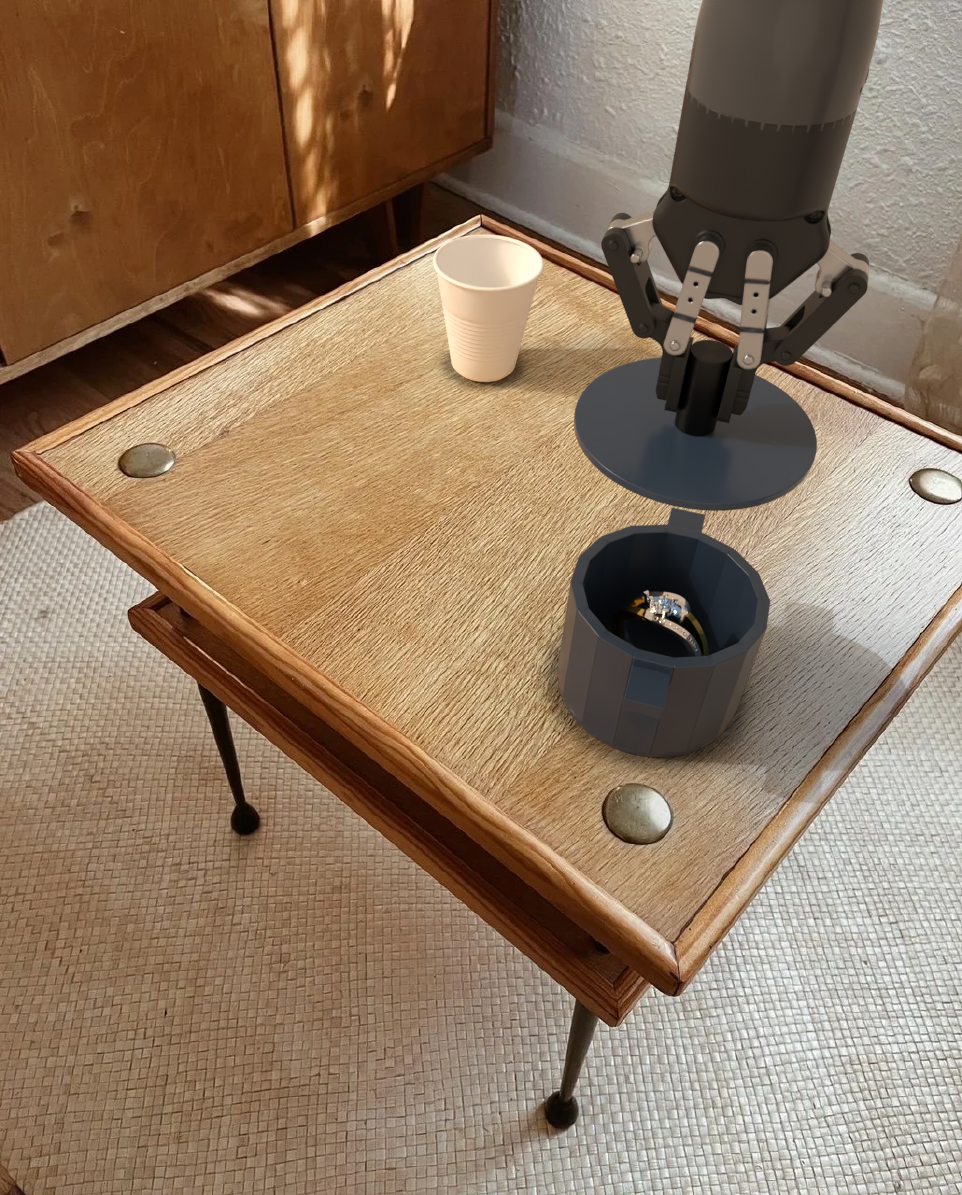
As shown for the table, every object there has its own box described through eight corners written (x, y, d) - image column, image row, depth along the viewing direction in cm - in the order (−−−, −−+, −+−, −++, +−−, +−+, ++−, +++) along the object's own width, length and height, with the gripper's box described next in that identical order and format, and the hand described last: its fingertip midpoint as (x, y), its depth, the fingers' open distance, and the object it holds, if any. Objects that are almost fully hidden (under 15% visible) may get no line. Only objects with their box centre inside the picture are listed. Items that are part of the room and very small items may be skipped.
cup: (551, 385, 97) (562, 279, 89) (453, 404, 95) (456, 297, 87) (510, 330, 104) (517, 227, 96) (417, 347, 101) (417, 242, 93)
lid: (819, 397, 62) (848, 310, 58) (802, 543, 53) (834, 453, 49) (599, 355, 65) (611, 268, 61) (547, 487, 56) (556, 397, 51)
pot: (749, 615, 78) (781, 523, 71) (719, 812, 66) (754, 723, 59) (586, 577, 80) (602, 483, 73) (529, 761, 68) (541, 669, 61)
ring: (597, 662, 73) (612, 584, 67) (625, 640, 75) (643, 561, 69) (673, 721, 70) (696, 644, 64) (702, 695, 72) (727, 618, 66)
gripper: (600, 91, 44) (562, 422, 56) (938, 141, 41) (820, 475, 54) (633, 35, 49) (592, 350, 61) (936, 77, 46) (828, 396, 59)
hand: (699, 407), depth 57 cm, fingers closed on lid, 2 cm apart
